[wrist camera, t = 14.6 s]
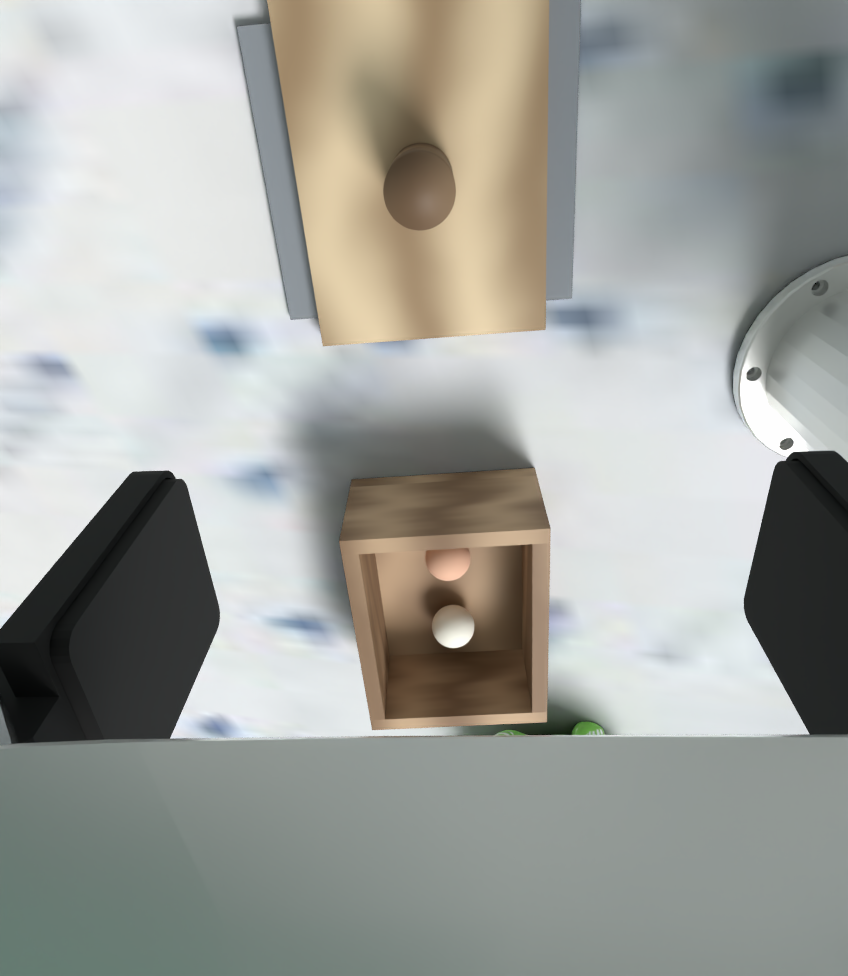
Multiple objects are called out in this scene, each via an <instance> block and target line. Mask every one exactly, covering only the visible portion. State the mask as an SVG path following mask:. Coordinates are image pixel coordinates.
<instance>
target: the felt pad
mask: <svg viewBox="0 0 848 976" xmlns="http://www.w3.org/2000/svg"><path fill="white" fill-rule="evenodd" d="M580 19H581V0H549V66H548V153H547V240H546V300H558V299H571V298H572V278H573V245H574V213H575V181H576V148H577V116H578V84H579V51H580ZM237 30H238V36H239V41H240V47H241V52H242V58H243V63H244V68H245V74H246V79H247V85H248V90H249V96H250V101H251V107H252V112H253V118H254V123H255V128H256V134H257V139H258V145H259V150H260V156H261V161H262V167H263V172H264V178H265V183H266V188H267V194H268V199H269V205H270V210H271V216H272V221H273V227H274V232H275V238H276V243H277V248H278V254H279V259H280V265H281V270H282V276H283V281H284V287H285V292H286V298H287V303H288V309H289V314H290V319H291V320H295V319H308V318H318V312H317V306H316V300H315V294H314V288H313V282H312V275H311V269H310V263H309V257H308V251H307V244H306V238H305V232H304V226H303V220H302V214H301V207H300V201H299V195H298V189H297V183H296V176H295V170H294V164H293V158H292V152H291V146H290V139H289V133H288V127H287V121H286V115H285V108H284V102H283V96H282V90H281V84H280V78H279V71H278V65H277V59H276V53H275V47H274V40H273V34H272V28H271V23H267V24H257V25H246V26H237Z"/></svg>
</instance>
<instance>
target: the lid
mask: <svg viewBox="0 0 848 976" xmlns="http://www.w3.org/2000/svg"><path fill="white" fill-rule="evenodd" d="M267 3H268V10H269V16H270V22H271V28H272V34H273V40H274V47H275V53H276V59H277V65H278V71H279V78H280V84H281V90H282V96H283V102H284V108H285V115H286V121H287V127H288V133H289V139H290V146H291V152H292V158H293V164H294V170H295V176H296V183H297V189H298V195H299V201H300V207H301V214H302V220H303V226H304V232H305V238H306V244H307V251H308V257H309V263H310V269H311V275H312V282H313V288H314V294H315V300H316V306H317V312H318V319H319V325H320V331H321V337H322V343H323V346H332V345H345V344H359V343H372V342H386V341H400V340H413V339H427V338H440V337H454V336H467V335H481V334H494V333H508V332H521V331H535V330H545V328H546V240H547V153H548V66H549V0H267Z"/></svg>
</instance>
